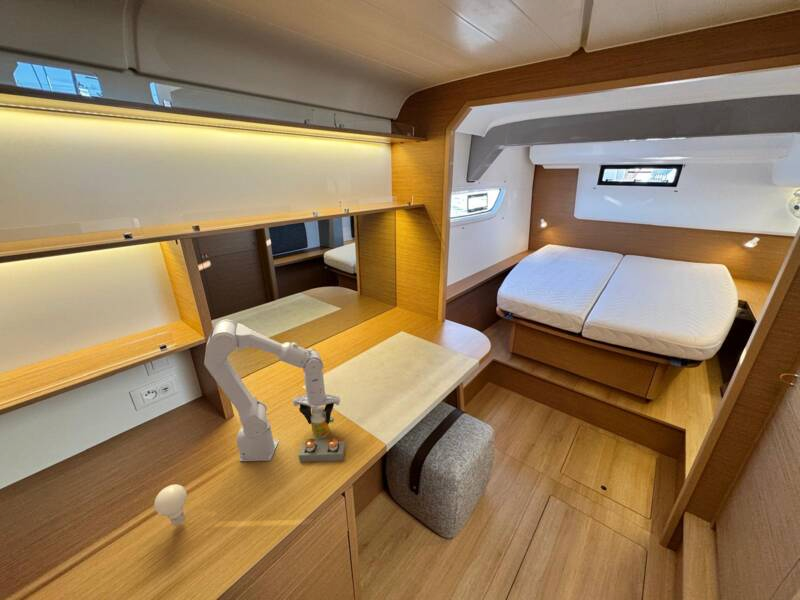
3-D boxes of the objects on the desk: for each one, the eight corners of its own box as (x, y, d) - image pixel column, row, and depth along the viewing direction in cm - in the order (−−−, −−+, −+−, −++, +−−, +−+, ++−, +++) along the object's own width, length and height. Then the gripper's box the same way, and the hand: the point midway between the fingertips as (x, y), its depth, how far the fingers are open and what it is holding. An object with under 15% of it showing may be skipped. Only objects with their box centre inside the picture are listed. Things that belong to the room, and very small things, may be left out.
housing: (299, 461, 95) (298, 455, 94) (313, 420, 111) (312, 415, 111) (342, 460, 95) (341, 454, 94) (350, 420, 112) (349, 414, 111)
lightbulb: (199, 509, 81) (188, 477, 78) (184, 534, 76) (172, 502, 72) (174, 510, 81) (162, 478, 78) (157, 536, 75) (143, 503, 72)
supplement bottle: (313, 440, 103) (309, 416, 99) (312, 429, 108) (309, 406, 104) (329, 437, 104) (326, 413, 101) (328, 426, 109) (325, 402, 106)
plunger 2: (328, 456, 96) (326, 445, 94) (330, 448, 99) (328, 438, 97) (338, 456, 96) (336, 445, 94) (339, 448, 99) (338, 438, 97)
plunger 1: (305, 457, 96) (303, 446, 94) (307, 449, 99) (306, 438, 97) (315, 457, 96) (313, 446, 94) (317, 449, 99) (315, 438, 97)
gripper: (288, 395, 96) (293, 431, 100) (335, 394, 96) (339, 430, 100) (295, 381, 102) (300, 415, 107) (339, 381, 102) (342, 414, 107)
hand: (319, 421), depth 104 cm, fingers closed on supplement bottle, 5 cm apart
